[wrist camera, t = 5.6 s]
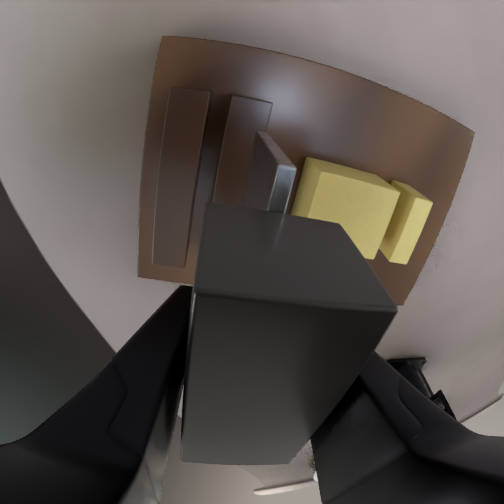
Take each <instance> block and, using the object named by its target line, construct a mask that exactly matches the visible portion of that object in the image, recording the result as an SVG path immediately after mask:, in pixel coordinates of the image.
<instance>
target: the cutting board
mask: <svg viewBox="0 0 504 504" xmlns="http://www.w3.org/2000/svg"><path fill="white" fill-rule="evenodd" d="M256 131H262V132H266V133H267V134H268V135H269V136H270V137H271V138H272V139H273V141H274V142H275V143H276V144H277V145H278V146H279V148H280V149H281V150H282V151H283V152H284V154H285V155H286V156H287V157H288V158H289V160H290V161H291V162H292V163H293V164H294V166H295V167H296V169H297V170H296V174H295V177H294V181H293V185H292V189H291V193H290V197H289V200H288V204H287V208H286V212H285V214H290V215H291V211H292V208H293V204H294V200H295V197H296V193H297V189H298V186H299V182H300V178H301V174H302V171H303V167H304V163H305V159H306V157H310V158H314V159H318V160H322V161H326V162H331V163H334V164H338V165H342V166H346V167H350V168H353V169H357V170H361V171H364V172H368V173H371V174H375V175H377V176H379V177H380V178H382V179H383V180H384V181H386V182H387V183H389V184H391V181H392V180H394V181H398V182H401V183H404V184H407V185H409V186H411V187H412V188H413V189H415V190H416V191H418V192H419V193H421V194H422V195H423V196H425V197H426V198H428V199H429V200H430V201H432V202H433V204H432V207H431V209H430V212H429V214H428V217H427V219H426V222H425V224H424V227H423V229H422V231H421V234H420V236H419V238H418V241H417V243H416V245H415V247H414V249H413V252H412V254H411V256H410V258H409V260H408V262H407V264H400V263H394V262H389V260H388V259H387V258H386V257H385V255H384V254H383V253H382V252H381V250H380V249H379V248H378V251H377V253H376V256H375V258H374V259H367V258H365V259H366V261H367V262H368V264H369V265H370V267H371V268H372V269H373V271H374V272H375V274H376V275H377V277H378V278H379V280H380V281H381V283H382V284H383V286H384V287H385V289H386V290H387V292H388V293H389V295H390V296H391V298H392V300H393V301H394V303H395V304H396V305H403V304H404V303H405V301H406V299H407V297H408V295H409V293H410V292H411V290H412V288H413V286H414V284H415V282H416V280H417V278H418V276H419V274H420V272H421V270H422V268H423V266H424V264H425V262H426V260H427V258H428V256H429V254H430V252H431V250H432V247H433V245H434V243H435V241H436V239H437V236H438V234H439V232H440V230H441V227H442V225H443V223H444V220H445V218H446V215H447V213H448V210H449V208H450V205H451V203H452V200H453V198H454V195H455V192H456V190H457V187H458V184H459V181H460V179H461V176H462V173H463V170H464V167H465V164H466V161H467V158H468V154H469V151H470V148H471V145H472V141H473V138H474V134H475V133H474V132H473V131H472V130H470V129H468V128H467V127H465V126H463V125H462V124H460V123H458V122H456V121H455V120H453V119H451V118H449V117H447V116H446V115H444V114H442V113H440V112H438V111H436V110H434V109H432V108H430V107H428V106H426V105H424V104H422V103H420V102H418V101H416V100H414V99H412V98H410V97H408V96H405V95H403V94H401V93H399V92H396V91H394V90H392V89H389V88H387V87H385V86H382V85H380V84H377V83H375V82H372V81H370V80H367V79H364V78H362V77H359V76H356V75H354V74H351V73H348V72H345V71H342V70H339V69H336V68H333V67H330V66H327V65H323V64H320V63H317V62H313V61H310V60H306V59H303V58H299V57H295V56H291V55H287V54H283V53H279V52H275V51H270V50H266V49H261V48H256V47H251V46H245V45H240V44H234V43H228V42H221V41H214V40H206V39H197V38H187V37H175V36H162V38H161V43H160V47H159V52H158V57H157V62H156V67H155V73H154V78H153V84H152V90H151V96H150V103H149V109H148V117H147V124H146V132H145V141H144V150H143V160H142V171H141V183H140V198H139V218H138V255H137V276H138V277H142V278H149V279H156V280H163V281H170V282H177V283H184V284H192V285H193V281H194V274H195V267H196V260H197V253H198V246H199V239H200V233H201V226H202V220H203V214H204V208H205V204H206V203H207V202H214V203H220V204H227V205H234V206H241V201H242V196H243V191H244V186H245V181H246V176H247V171H248V167H249V162H250V157H251V152H252V148H253V143H254V138H255V134H256Z"/></svg>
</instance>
